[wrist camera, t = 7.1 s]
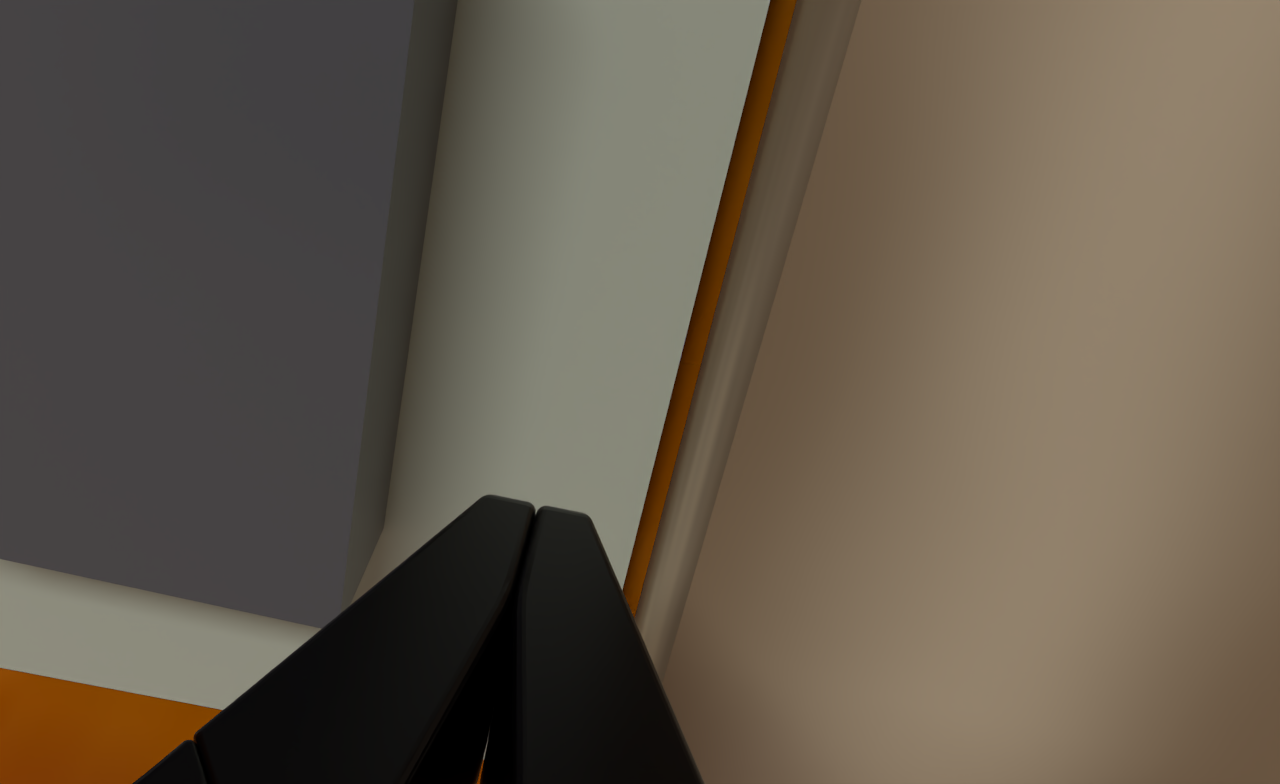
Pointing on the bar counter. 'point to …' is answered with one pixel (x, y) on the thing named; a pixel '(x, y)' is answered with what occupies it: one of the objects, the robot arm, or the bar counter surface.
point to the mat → (494, 317)
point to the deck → (991, 408)
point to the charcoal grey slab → (211, 287)
